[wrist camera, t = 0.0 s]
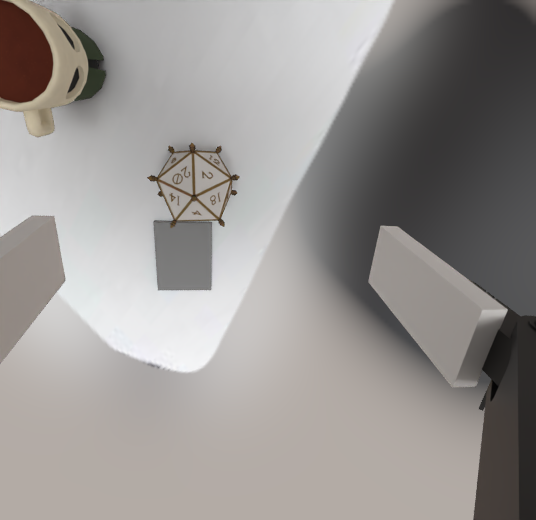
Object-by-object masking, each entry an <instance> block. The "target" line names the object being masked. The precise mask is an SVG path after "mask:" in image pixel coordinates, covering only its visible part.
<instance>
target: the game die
mask: <svg viewBox="0 0 536 520" xmlns="http://www.w3.org/2000/svg"><path fill="white" fill-rule="evenodd" d="M189 147H190V151H179V152H175V151H174V149H173V147H171V146H169V149H168V151H170V152H171V153H172V155H171V156H170V158H169V160H168V161H167V163H166V164H165V166H164V167H163V169H162V171H161V172H160V174H159V175H158V177H155V176H152V175H151V176H150V177H147V178H148V179H149V180H150V181H157V183H158V186H159V188H160V190H161V191H160V192H159V193H158V194H157V195H159V196H163V197H164V199H165V201H166V203H167V206H168V208H169V210H170V212H171V215H172V217H173V219H174V220H173V221H171V223H170V228H173V227H175V225H176V222H177V221H215V220H218V221H219V223H220V225H221V226H223V227H224V223H225V222H224V221H223V220H222V219H221V217H222V214H223V212H224V209H225V207H226V204H227V202H228V200H229V197H230V195H231V194H232V195H234V196H235V195H236V194H237V192H236V191H235V190H232V180H233V181H234V180H238V178H239V176H237V175H236V174H235V175H233V176H232V177H231V175H230V173H229V172H228V170H227V168H226V166H225V165H224V163H223V161H222V160H221V158H220V156H219V155H218V153H219V152H220V151H221V146H219V147H217V149H216V151H215V152H211V151H196V150H195V149H196V148H195V145H194V144H193V143H191V145H189Z"/></svg>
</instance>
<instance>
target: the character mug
mask: <svg viewBox="0 0 536 520" xmlns="http://www.w3.org/2000/svg"><path fill="white" fill-rule="evenodd" d="M97 60H104V59H103V55H102V54H101V52H100V50H99V49H98V47H97V45H96V44H95V42H94V41H93V40H92V39H90V38H89V37H88V36H87V35H85V34H84V33H83V32H82V31H81V30H79V29H75V28H72V27H70V26H69V25H68V24H67V23H66V22H65V21H64V20H63V19H62V18H61V17H60V16H59V15H57V14H56V13H55V12H53V11H51V10H49V9H47V8H45V7H43V6H40V5H38V4H36V3H33V2H31V1H29V0H0V108H2V109H6V110H11V111H16V112H22V111H23V113H24V117H25V121H26V126H27V129H28V131H29V134H31V135H33V136H35V137H41V136H45V135H48V134H51V133H53V132H54V121H53V116H52V111H51V108H54V107H58V106H63V105H67V104H69V103H71V102H72V101H78V100H83V99H87V98H91V97H92V96H93V95H94V94H96V93H97V92H98V91H99V90H100V89H101V88H102V85H103V82H104V79H105V76H106V73H105V71H103V70H99V69H98V66H99V65H98V62H97Z"/></svg>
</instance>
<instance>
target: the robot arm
mask: <svg viewBox="0 0 536 520" xmlns="http://www.w3.org/2000/svg"><path fill="white" fill-rule="evenodd" d="M65 281H66V280H65V274H64V269H63V263H62V258H61V252H60V246H59V241H58V235H57V230H56V224H55V219H54V216H31V217H29V218H28V219H26V220H25V221H23V222H22V223H20V224H19V225H18V226H16V227H15V228H13V229H12V230H10V231H9V232H7V233H6V234H4V235H3V236H2V237H0V363H1V362H2V361H3V360H4V359H5V357H6V356H7V355H8V353H9V352H10V351H11V350H12V348H13V347H14V346H15V345H16V343H17V342H18V341H19V339H20V338H21V337H22V336H23V334H24V333H25V332H26V330H27V329H28V328H29V327H30V325H31V324H32V322H33V321H34V320H35V319H36V318H37V316H38V315H39V314H40V313H41V311H42V310H43V309H44V307H45V306H46V305H47V304H48V302H49V301H50V300H51V298H52V297H53V296H54V295H55V293H56V292H57V291H58V290H59V288H60V287H61V286H62V284H63V283H64V282H65ZM368 282H369V283H370V284H371V286H372V287H373V288H374V290H375V291H376V292H377V293H378V294H379V296H380V297H381V298H382V299H383V301H384V302H385V303H386V305H387V306H388V307H389V308H390V310H391V311H392V312H393V313H394V315H395V316H396V317H397V318H398V320H399V321H400V322H401V323H402V324H403V326H404V327H405V328H406V330H407V331H408V332H409V333H410V335H411V336H412V337H413V338H414V340H415V341H416V342H417V343H418V344H419V346H420V347H421V348H422V350H423V351H424V352H425V353H426V355H427V356H428V357H429V358H430V360H431V361H432V362H433V363H434V364H435V366H436V367H437V368H438V370H439V371H440V372H441V373H442V375H443V376H444V377H445V378H446V380H447V381H448V382H449V383H450V385H451V386H452V387H453V388H454V387H476V385H477V382H478V380H479V378H480V375H481V373H482V370H483V371H484V372H485V373H486V374H487V375H488V376H489V377H490V378H491V382H490V384H489V386H488V389H487V391H486V393H485V396H484V398H483V400H482V402H481V405H480V407H479V409H480V410H483V409H484V408H485V413H484V423H483V433H482V443H481V452H480V463H479V472H478V481H477V490H476V500H475V510H474V520H536V317H535V316H519V315H518V314H516V313H515V312H514V311H513V310H511V309H510V308H509V307H507V306H506V305H504V304H503V303H502V302H500V301H499V300H498V299H495V298H494V296H492V295H491V294H490V293H488V292H486V290H484V289H483V288H482V287H480V286H479V285H477V284H476V283H474V282H472V281H470V280H468V279H467V278H465V277H464V276H462V275H461V274H460V273H458V272H457V271H456V270H455V269H453V268H452V267H451V266H449V265H448V264H446V263H445V262H444V261H443V260H441V259H440V258H438V257H437V256H436V255H435V254H433V253H432V252H430V251H429V250H428V249H427V248H425V247H424V246H423V245H421V244H420V243H419V242H417V241H416V240H415V239H413V238H412V237H411V236H409V235H408V234H406V233H405V232H404V231H402V230H401V229H400V228H398V227H397V226H381V227H380V231H379V236H378V240H377V245H376V250H375V254H374V258H373V263H372V268H371V272H370V277H369V281H368Z"/></svg>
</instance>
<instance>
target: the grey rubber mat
mask: <svg viewBox="0 0 536 520" xmlns="http://www.w3.org/2000/svg"><path fill="white" fill-rule="evenodd" d="M170 223H171V221H154V235H155V251H156V266H157V282H158V290H211V231H212V222H186V221H177V222H176V225H175V227H173V228H170Z"/></svg>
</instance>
